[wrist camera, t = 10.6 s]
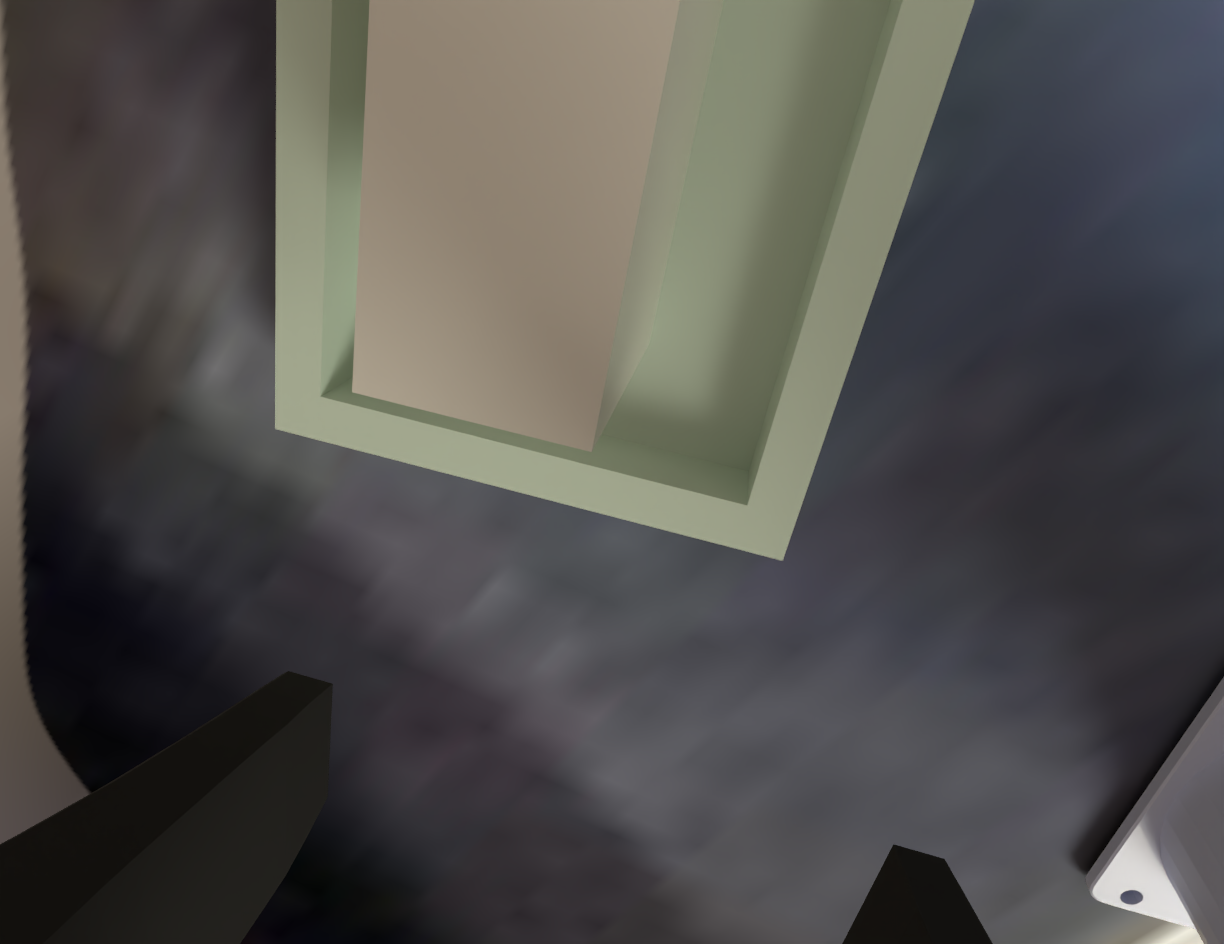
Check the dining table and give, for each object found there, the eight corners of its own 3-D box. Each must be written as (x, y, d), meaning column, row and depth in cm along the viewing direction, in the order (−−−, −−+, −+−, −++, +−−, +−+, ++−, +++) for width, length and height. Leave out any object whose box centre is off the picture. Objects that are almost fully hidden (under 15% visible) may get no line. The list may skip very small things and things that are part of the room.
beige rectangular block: (804, -377, 11) (845, -848, 6) (649, 343, 16) (591, 452, 11) (574, -413, 12) (409, -894, 6) (488, 305, 16) (352, 391, 11)
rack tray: (1135, -571, 10) (1235, -763, 8) (779, 506, 18) (782, 561, 16) (374, -676, 11) (278, -875, 9) (334, 392, 19) (275, 428, 16)
